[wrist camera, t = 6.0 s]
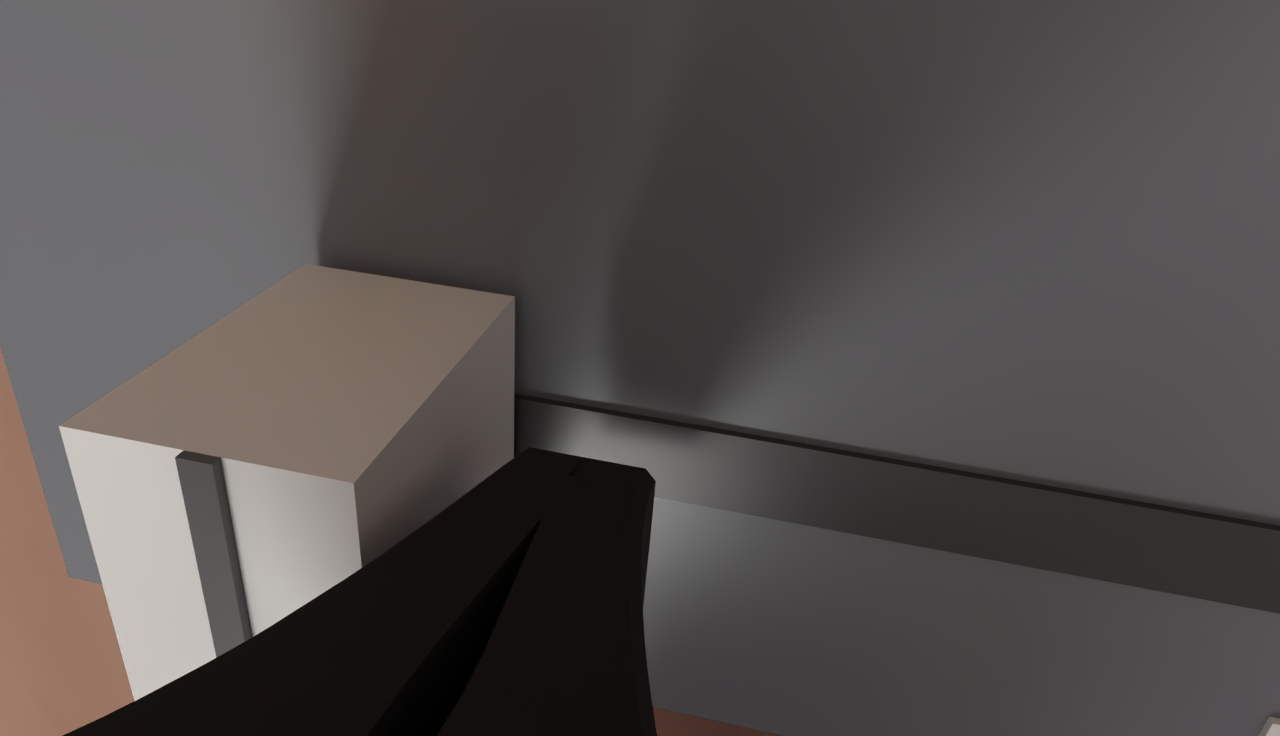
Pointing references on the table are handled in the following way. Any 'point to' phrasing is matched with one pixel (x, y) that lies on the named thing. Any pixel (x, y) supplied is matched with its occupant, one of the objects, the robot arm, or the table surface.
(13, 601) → the table surface
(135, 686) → the block
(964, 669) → the console
